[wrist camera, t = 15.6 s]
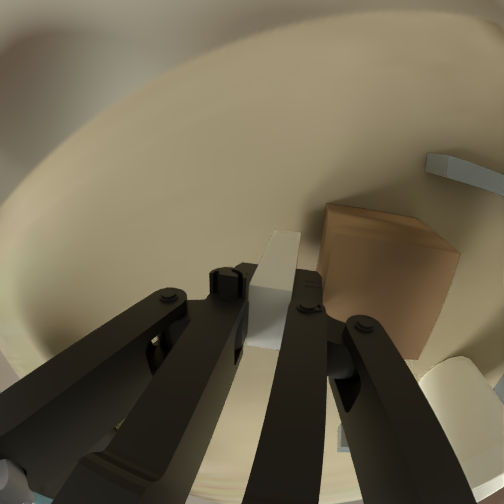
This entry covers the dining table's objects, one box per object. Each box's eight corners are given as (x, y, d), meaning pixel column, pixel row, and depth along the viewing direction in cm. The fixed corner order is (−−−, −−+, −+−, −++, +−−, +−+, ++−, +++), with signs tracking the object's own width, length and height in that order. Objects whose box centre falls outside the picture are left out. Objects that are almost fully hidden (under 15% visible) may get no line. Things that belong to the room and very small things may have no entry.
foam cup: (490, 375, 17) (527, 471, 6) (418, 420, 21) (432, 521, 9) (474, 323, 16) (538, 446, 4) (385, 382, 20) (400, 518, 8)
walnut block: (312, 291, 18) (309, 351, 13) (326, 203, 16) (334, 232, 10) (394, 302, 17) (417, 359, 12) (417, 218, 15) (460, 253, 9)
